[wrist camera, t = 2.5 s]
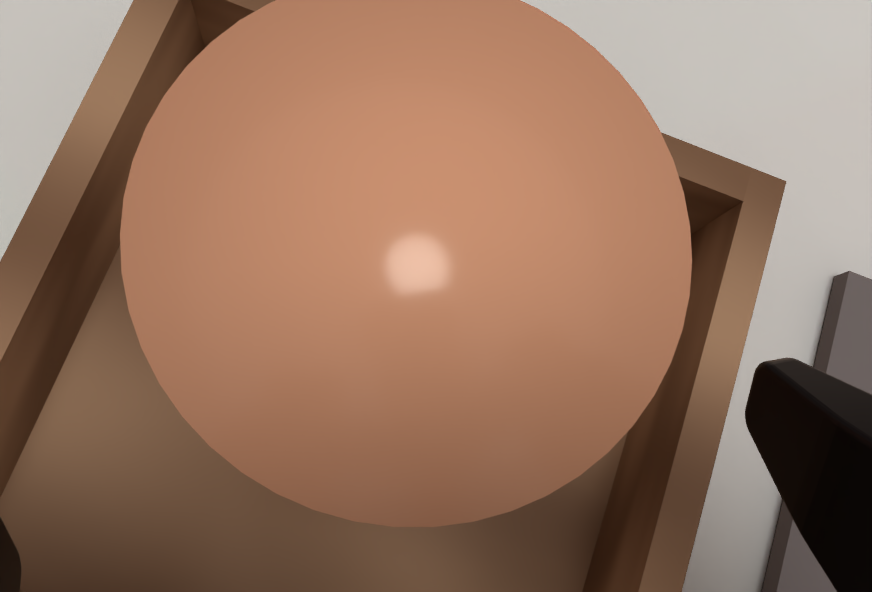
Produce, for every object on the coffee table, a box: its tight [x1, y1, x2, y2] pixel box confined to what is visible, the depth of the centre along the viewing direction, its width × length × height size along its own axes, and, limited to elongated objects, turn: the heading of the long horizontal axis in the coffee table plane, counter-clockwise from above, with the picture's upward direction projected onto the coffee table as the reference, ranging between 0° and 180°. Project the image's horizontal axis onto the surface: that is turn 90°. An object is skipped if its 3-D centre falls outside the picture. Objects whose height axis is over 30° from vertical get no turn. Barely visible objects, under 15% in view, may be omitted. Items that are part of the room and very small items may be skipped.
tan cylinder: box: [120, 0, 692, 527], centre depth 12 cm, size 4×4×12 cm
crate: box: [0, 0, 786, 592], centre depth 17 cm, size 14×14×4 cm
